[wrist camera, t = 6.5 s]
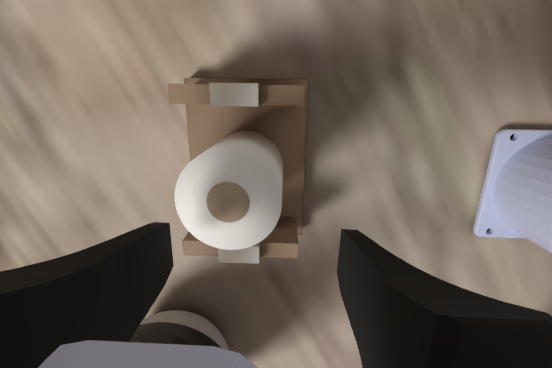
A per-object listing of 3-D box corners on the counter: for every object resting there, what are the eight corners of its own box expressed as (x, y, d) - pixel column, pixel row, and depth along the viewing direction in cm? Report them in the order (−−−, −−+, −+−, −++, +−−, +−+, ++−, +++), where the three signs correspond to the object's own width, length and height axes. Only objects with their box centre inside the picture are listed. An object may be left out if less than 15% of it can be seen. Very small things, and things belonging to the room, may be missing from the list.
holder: (307, 79, 19) (316, 74, 14) (301, 229, 22) (306, 271, 17) (188, 78, 19) (151, 72, 14) (199, 226, 23) (173, 267, 17)
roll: (280, 128, 19) (278, 146, 12) (284, 198, 21) (284, 248, 14) (207, 132, 19) (165, 152, 13) (216, 201, 21) (183, 252, 14)
